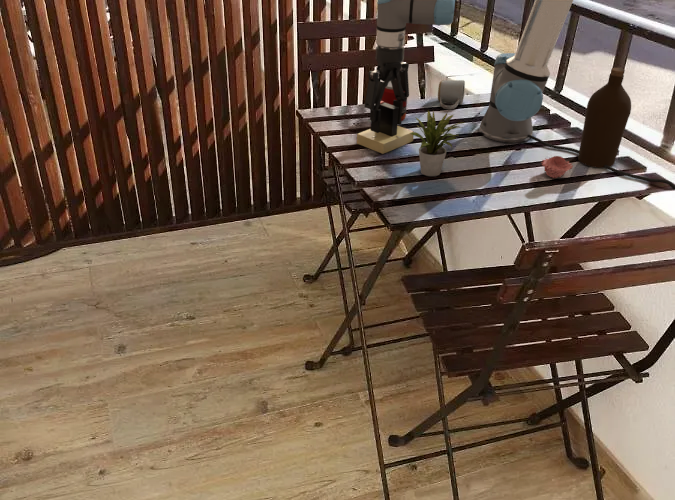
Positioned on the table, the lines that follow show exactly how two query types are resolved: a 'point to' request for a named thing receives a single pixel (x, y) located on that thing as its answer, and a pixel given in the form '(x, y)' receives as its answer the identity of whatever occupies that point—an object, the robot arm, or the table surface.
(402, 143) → the tan box
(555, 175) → the flower
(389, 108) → the red-topped black block
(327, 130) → the table surface
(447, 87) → the ceramic mug
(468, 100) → the table surface
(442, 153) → the house plant
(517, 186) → the table surface
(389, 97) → the canned food
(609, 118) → the olive oil
